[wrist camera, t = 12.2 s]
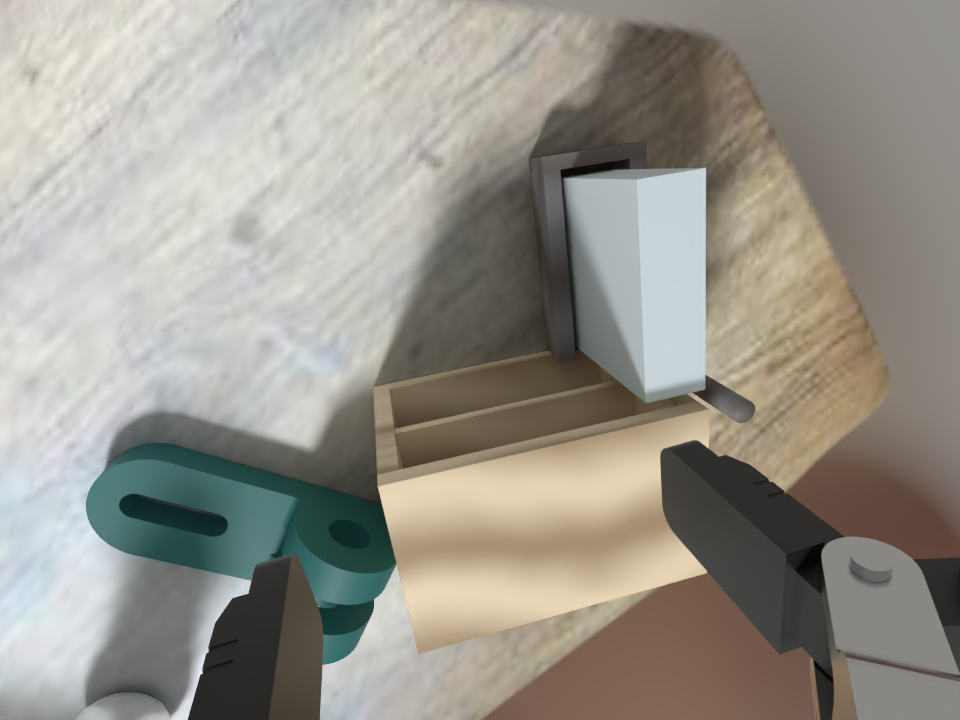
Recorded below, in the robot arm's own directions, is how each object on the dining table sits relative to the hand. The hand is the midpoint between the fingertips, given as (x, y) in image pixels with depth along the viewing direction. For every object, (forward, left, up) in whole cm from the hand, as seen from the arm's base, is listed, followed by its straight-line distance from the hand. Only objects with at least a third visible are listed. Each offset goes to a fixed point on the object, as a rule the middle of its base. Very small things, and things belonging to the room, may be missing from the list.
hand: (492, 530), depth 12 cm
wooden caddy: (+4, +6, -23) cm, 25 cm away
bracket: (+13, -13, -24) cm, 30 cm away
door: (0, +12, -24) cm, 26 cm away
